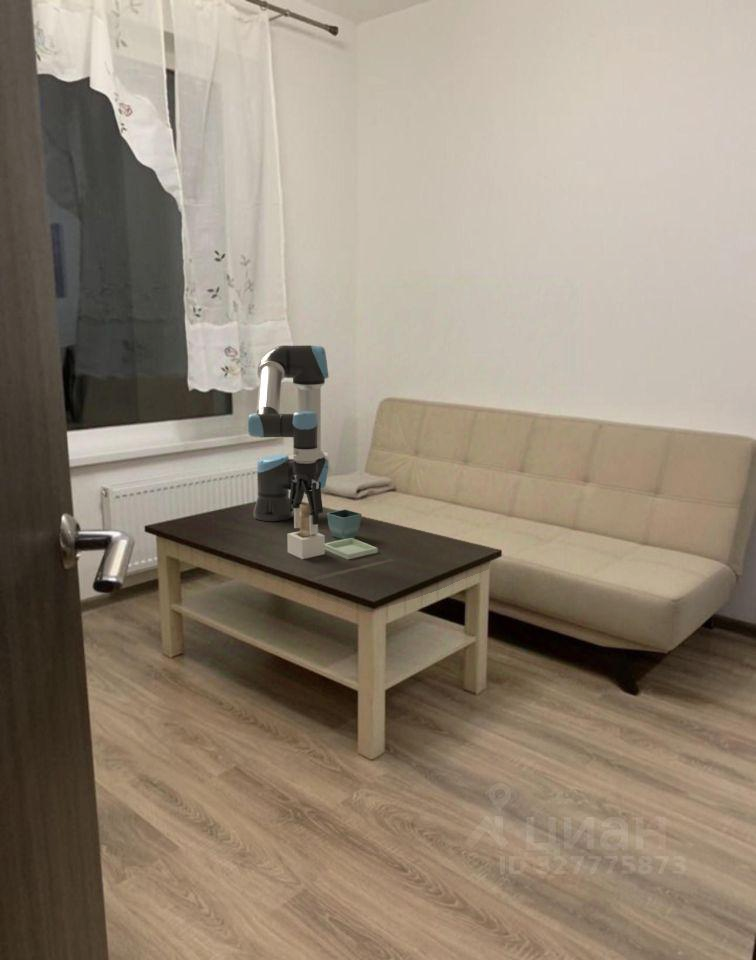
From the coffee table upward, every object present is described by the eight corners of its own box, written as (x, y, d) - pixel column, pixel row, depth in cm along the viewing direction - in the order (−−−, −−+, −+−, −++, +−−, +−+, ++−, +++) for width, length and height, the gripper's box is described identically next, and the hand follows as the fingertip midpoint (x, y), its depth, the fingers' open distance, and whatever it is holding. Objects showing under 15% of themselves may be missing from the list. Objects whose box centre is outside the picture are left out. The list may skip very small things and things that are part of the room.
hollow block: (287, 554, 243) (287, 533, 241) (309, 549, 248) (309, 529, 247) (302, 561, 236) (302, 540, 235) (324, 556, 242) (324, 535, 240)
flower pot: (345, 533, 267) (345, 508, 265) (362, 538, 261) (362, 513, 259) (326, 538, 261) (326, 513, 259) (343, 543, 255) (343, 518, 253)
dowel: (297, 552, 242) (297, 504, 239) (307, 550, 245) (307, 502, 241) (304, 555, 239) (304, 507, 236) (314, 553, 242) (314, 505, 238)
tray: (322, 550, 247) (322, 543, 247) (351, 544, 255) (351, 537, 254) (347, 561, 237) (347, 554, 236) (377, 554, 244) (377, 547, 244)
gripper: (277, 457, 241) (278, 525, 246) (314, 467, 225) (314, 540, 230) (297, 454, 246) (298, 521, 251) (334, 465, 230) (334, 536, 235)
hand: (305, 530), depth 240 cm, fingers open, 8 cm apart
